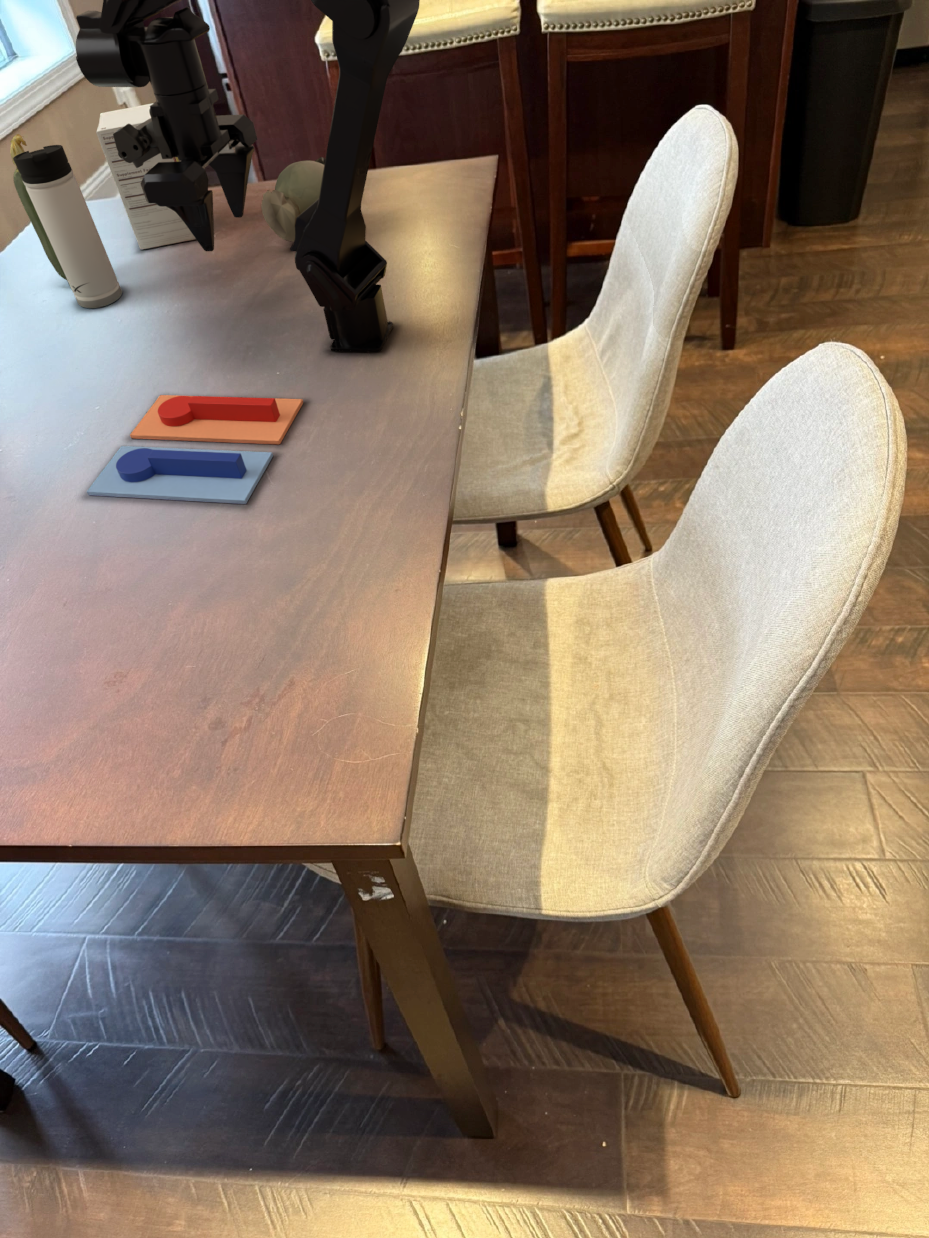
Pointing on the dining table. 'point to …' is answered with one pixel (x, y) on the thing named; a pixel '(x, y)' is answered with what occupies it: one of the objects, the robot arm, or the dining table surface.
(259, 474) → the blue mat
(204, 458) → the blue spoon
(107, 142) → the supplement box
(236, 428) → the terracotta mat
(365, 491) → the dining table surface
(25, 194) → the vegetable
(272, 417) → the red spoon
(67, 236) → the travel mug
